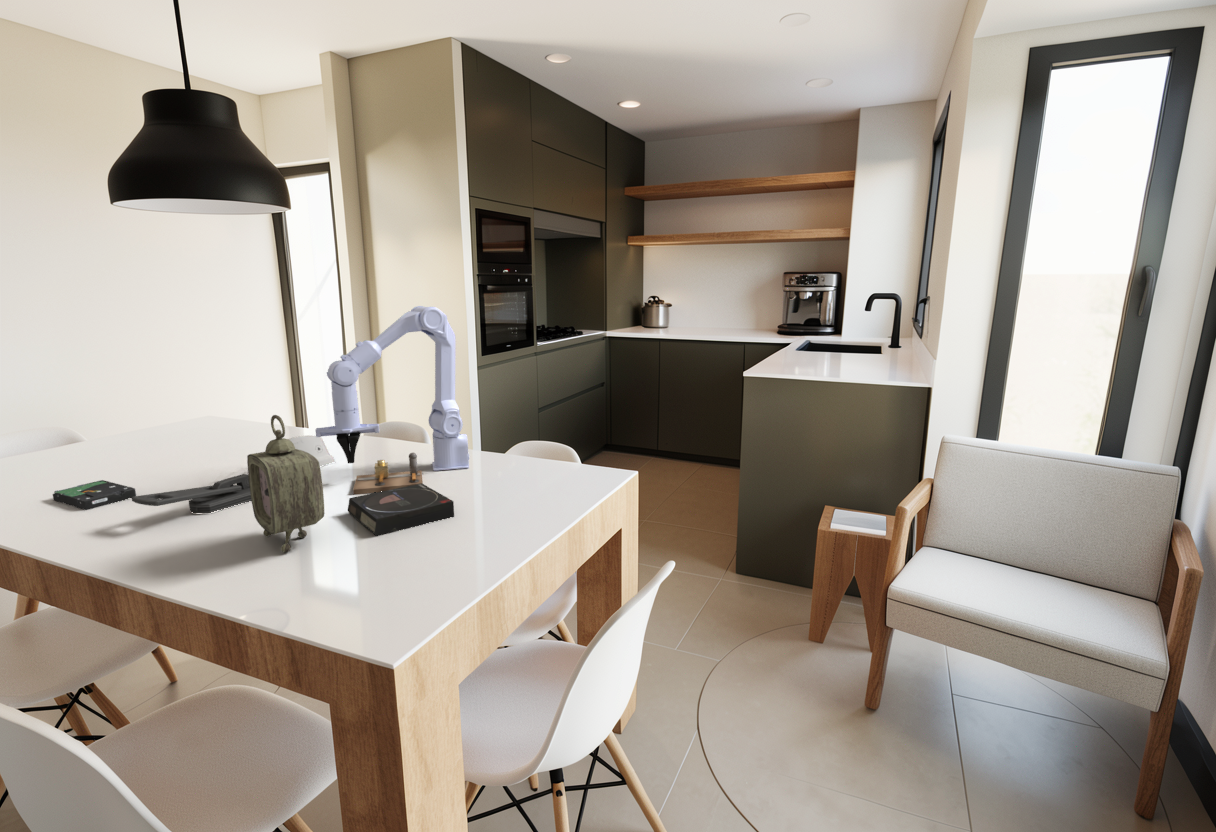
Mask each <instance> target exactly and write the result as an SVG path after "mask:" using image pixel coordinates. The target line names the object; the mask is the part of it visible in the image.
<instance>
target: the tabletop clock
mask: <svg viewBox="0 0 1216 832" xmlns="http://www.w3.org/2000/svg"><path fill="white" fill-rule="evenodd" d="M275 419H276V420H277V421H278V422H279V424H280V426H281V429H282V430H281V429H276V428H275V422H274V421H275ZM270 426H271V430H272V434H273V435H274V436H275V439H272V440H270V441H269V442H268V443H267V445H266V447H265V449H264V450H265V451H262V452H256V453H250V454H248V455H246V456H247V457H246V458H247V460H246V461H247V463H246V464H247V475H248V476H249V486H250V493H251V500H252V501H251V505H252V506H251V507H252V510H253V515H254V518H255V520H256V522H257V523H258V525H259V526H260V527H261V528H262V529H263V536H265V537H271V536H274V535H277V534H281V533H285V538H284V539H285V541H284V543H283V545H282V544H281V547H280V551H281V552H282V553H284V554H286V553H288V552H290V551H291V548H292V547H291V545H290V544H289V541H290V538H291V535H292V533H293V531H294V530H297V529H298V533H297V536H298V537H299V538H300V539H305V538H306V536H308V532H307V531H306V530H305V529H303V528H304V527H305V528H307V527H310V526H314V525H317V524H318V522H319V521H320V520H322V519H323V518H324V517H325V499H324V497H325V496H324V487H323V478H322V470H321V467H320V465H319V462H318V460H317V459H316V458H315V457H314V456H312V455H311V454H309V453H307V452H305V451H302V450H298V449H295V446H294V444H293V443H292V441H290V440H289V439H290V438H285V435H286V427H285V423H284V420H283V419H282V417H280V415H277V414H273V415H272V416H271V417H270Z"/></svg>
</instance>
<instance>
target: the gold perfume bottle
mask: <svg viewBox="0 0 1216 832" xmlns="http://www.w3.org/2000/svg"><path fill="white" fill-rule="evenodd" d="M389 473H390V472H389V462H386V461H385V459H379V460H377V461H376V462H375V464H374V474H375V478H380V479H379V482H383V478H385V477H388V475H389Z"/></svg>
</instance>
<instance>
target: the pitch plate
mask: <svg viewBox="0 0 1216 832" xmlns="http://www.w3.org/2000/svg"><path fill="white" fill-rule="evenodd" d="M417 455H418V454H416V453H415V452H410V453H409V454H408V460H409V471H397V472H389V475H388V477H385V478H383V482H379V479H380V478H375V473H373V474H371V473H370V474H362V475H361V474H360V475H356V478H355V482H354V485H353V488H352V494H353V495H366V494H372V493H374V492H376V493H377V492H381V491H386V490H391V489H396V488H401V487H406V486H411V485H416V484H420V483H422V484H424V483H423V470H421V469H420V470H418V461H417V459H418V456H417Z"/></svg>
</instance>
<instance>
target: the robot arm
mask: <svg viewBox="0 0 1216 832" xmlns="http://www.w3.org/2000/svg"><path fill="white" fill-rule="evenodd" d="M414 332H415V333H416V332H422V333H424V334H426V335H427V336H428V337H429V338H430V339H431V340H432V341H433V342H434V347H435V348H434V350H435V351H434V352H435V354H434V361H435V362H434V366H435V367H434V368H435V369H434V372H435V373H434V374H435V375H434V380H435V381H434V384H435V385H434V389H435V390H434V391H435V392H434V400H433V401H434V402H433V403H432V404H431V412H430V414H429V416H428V425H429V427H430V428H431V429H432V448H433V449H432V450H433V461H432V462H431V464H432V470H433V472H434V471H437V472H438V471H444V470H445V471H447V470H457V469H458V470H459V469H460V470H461V469H469V468H470V461H469V460H470V453H469V443H468V442H469V440H468V435H467V434H466V433H462V434H461V431H462V429H463V425H464V424H463V418H462V417H461V415H460V407H459V405H458V403H457V401H456V349H457V347H456V345H457V344H456V342H457V341H456V334H455V331H454V330H453V328H452V326H451V324H450V323H449V320H448V315H447V314H446V313H444V311H442V310H441V309H440V308H438V307H436V306H423V305H417V306H414V307H413V308H412V309H411V310H410V311H409V310H408V311H407V312H404V313H403V315H401V316H400V317H399V318H398V319H397V320H396V321H394V322H393V323H392V324H391V325H390V326H388V327H387V328H386V329H385V330H384V331H383V332H381V333H380V334H379V335H378V336H377V337H375V338H374V339H373V340H363V341H358V342H356V343H355V347H354V348H353V349H352V350H350V351H349V352H348V353H347V354H342V355H340V356H339V358H340V360H339V359H338V360H336V361H333V362H331V364H330V365H329V366H328V368H327V372H326V376H327V378H328V379H329V381H330V384H331V399H332V407H333V420H334V425H331V426H324V427H317V428H315V436H316V437H321V438H322V437H327V436H328V437H330V436H333V437H334V436H336V442H337V443H338V444H339V446H340V447H341V449H342V451H343V453H344V456H345V458H346V460H347V461H346V462H347V464H354V463H355V456H356V449H357V447H358V446H357V445H358V443H359V440H360V437H361V434H370V433H371V434H373V433H374V434H379V433H380V424H379V423H361V421H360V411H359V400H358V399H359V398H358V391H357V385H356V384H357V381H358V379H359V376H360V375H361V374H363V373H364V372H365V371H366V370H368V369H369V368H370V367H372V366H373V365H374V364H375V363H377V362H378V361H379V360H380V359H382V352H383V351H384V350H385V349H386V348H388V347H389V346H391V345H392V344H394V343H395V342H396V341H398V340H399V339H400V338H402V337H404V335H406V334H408V333H414Z"/></svg>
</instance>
